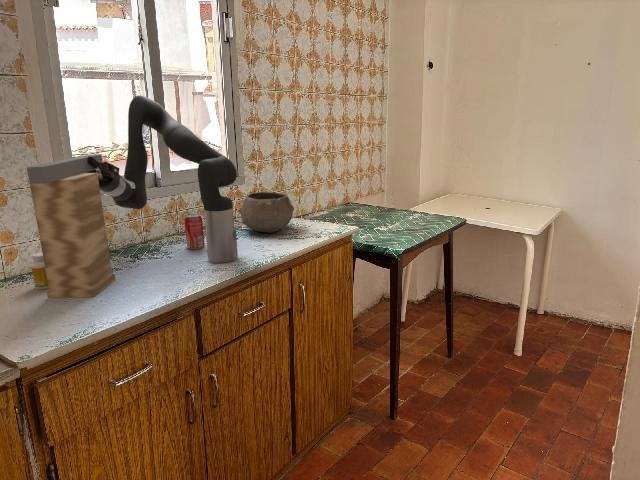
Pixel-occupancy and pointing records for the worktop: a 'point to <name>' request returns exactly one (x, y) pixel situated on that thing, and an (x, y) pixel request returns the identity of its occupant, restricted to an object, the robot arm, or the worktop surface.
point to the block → (60, 169)
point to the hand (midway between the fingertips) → (81, 159)
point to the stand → (73, 236)
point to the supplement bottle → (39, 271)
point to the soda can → (194, 231)
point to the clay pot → (266, 211)
